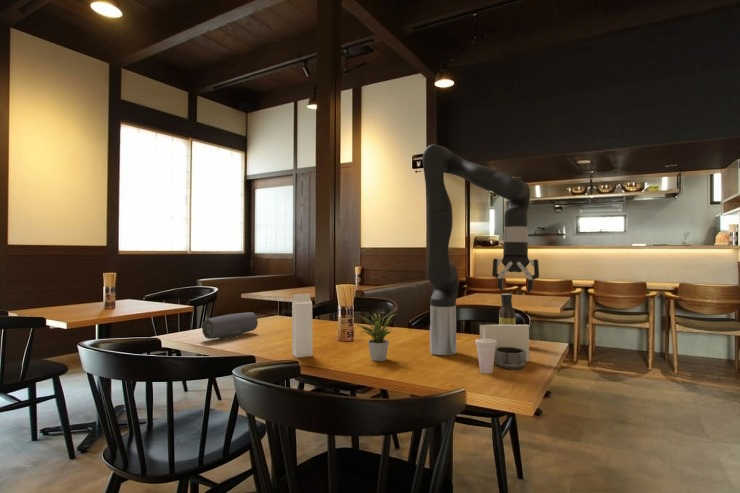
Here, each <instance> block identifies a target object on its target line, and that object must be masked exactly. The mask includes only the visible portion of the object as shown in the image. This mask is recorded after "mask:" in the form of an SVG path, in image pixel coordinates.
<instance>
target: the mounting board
mask: <svg viewBox="0 0 740 493" xmlns="http://www.w3.org/2000/svg"><path fill="white" fill-rule="evenodd" d="M483 326H485V338H487V339H494V340H496V341H497V345H496V348H498V347H514V348H520V349H523V350H524V351H526V362H530V325H529V324H516V325H499V324H479V339H481V338H483ZM494 362H495V359H494Z"/></svg>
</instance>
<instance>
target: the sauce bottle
mask: <svg viewBox="0 0 740 493" xmlns="http://www.w3.org/2000/svg"><path fill="white" fill-rule="evenodd" d="M512 297H513V296H512V293H501V294H500V298H501V307H500V308H499V310H498V311H499V312H498V319H499V320H498V322H499V323H498V325H517V324H516V323H517V322H516V321H517V320H516V319H517V318H516V311H515V308H514V307H513V303H512Z"/></svg>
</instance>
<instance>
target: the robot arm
mask: <svg viewBox="0 0 740 493" xmlns="http://www.w3.org/2000/svg"><path fill="white" fill-rule="evenodd" d="M422 167H423V175H424V182H425V183H424V185H425V199H426V203H425V204H426V225H427V227H426V228H427V242H428V243H427V244H428V246H427V247H428V255H427V257H428V258H427V272H426V273H427V278H428V281H429V283H430V284H431V285H432V286H433V288H432V294H431V297H430V300H429V301H430V302H429V303H430V304H429V305H430V307H429V308H430V310H429V311H430V312H429V313H430V317H429V318H430V324H429V351H430V355H437V356H452V355H457V297H458V291H459V289H458V288H459V287H458V286H459V285H458V283H459V281H458V280H459V278H458V277H459V276H458V270H457V267H456V265H454V263H452V262H450V255H449V246H450V239H451V237H452V232H453V231H452V230H453V222H454V221H453V220H454V219H453V205H452V202H451V199H450V197H449V194H448V191H447V189H446V184H445V180H444V179H445V178H444V177H445V176H444V175H445V174H449V175H453V176H456V177H459V178H462V179H464V180H465V181H466V182H469V183H470V184H472V185H475V187H479V188H481V189H483V190H486V191H487V192H491V193H493V194H495V195H497V196H499V197H502V198H504V199H506V200H508V207H507V209H506V210H505V212H504V218H503V219H504V221H503V222H504V223H503V225H504V226H503V227H504V229H503V236H502V237H503V244H502V245H503V248H502V249H503V254H502V255H503V256H502V259H501V258H500V259H499V258H493V260H492V271H491V272H492V274H491V275H492V277H494V278H497V288H498V289H499V290H500V291H503V290H504V278H503V277H504V276H505V275H506V274H507V273H508V272H510V273H524V275H525V276H526V278H527V279H528V280H527V292H528V293H530V292H532V291H533V289H534V280H535V279H539V277H540V268H539V267H540V266H539V260H538V258H537V259H536V258H535V259H530V258H529V252H528V251H529V232H528V210H529V205H530V200H531V199H530V198H531V189H530V186H529V184H528V183H527V182H525V181H524V180H521V179H518V178H516V177H512V176H510V175H507V174H503V173H501V172H500V171H497V170H496V169H492V168H491V167H488V166H484V165H481V164H478V163H474V162H471V161H468V160H466V159H465V158H462V157H461V156H459V155H458V154H456V153H454V152H453V151H451V150H450V149H449V148H447V147H445V146H442V145H438V144H435V143H434V144H430V145H428V146H427V147H426V148H425V150H423V153H422ZM444 173H445V174H444ZM501 263H502V265H503V266H504V268H503V269H502V270H501V272H500V273H498V270H499V269H498V268H499V266H500V265H501ZM529 264H530V265H531V266H532V267H533V271H534V274H531V272H530V271H529V270H528V268H527V266H528V265H529Z"/></svg>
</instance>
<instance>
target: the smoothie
mask: <svg viewBox="0 0 740 493" xmlns="http://www.w3.org/2000/svg"><path fill="white" fill-rule="evenodd" d="M475 345H476V350H477V357H478V359H477V360H478V364H479V366H478V367H479V372H480V373H481V374H486V375H491V374H493V373H494V366H495V361H494V357H495V348H496V345H497V341H496V340H494V339H487V338H485V326H483V338H481V339H480V338H477V339H475Z"/></svg>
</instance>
